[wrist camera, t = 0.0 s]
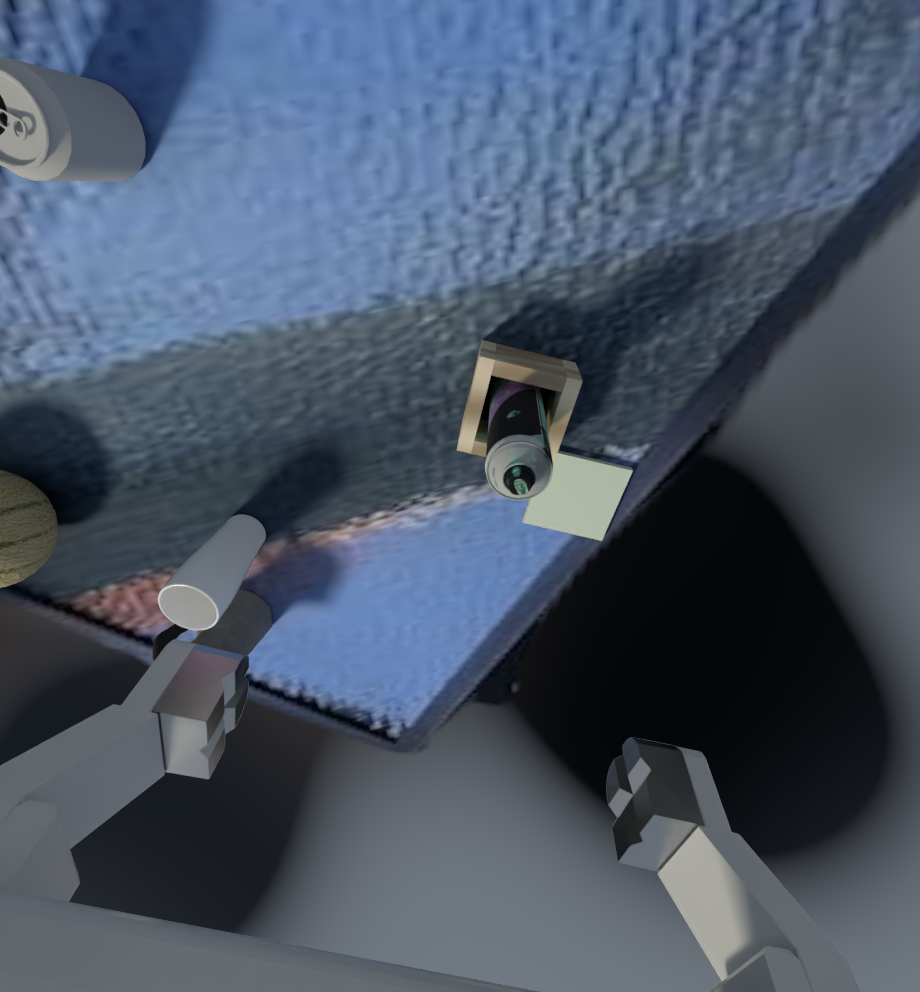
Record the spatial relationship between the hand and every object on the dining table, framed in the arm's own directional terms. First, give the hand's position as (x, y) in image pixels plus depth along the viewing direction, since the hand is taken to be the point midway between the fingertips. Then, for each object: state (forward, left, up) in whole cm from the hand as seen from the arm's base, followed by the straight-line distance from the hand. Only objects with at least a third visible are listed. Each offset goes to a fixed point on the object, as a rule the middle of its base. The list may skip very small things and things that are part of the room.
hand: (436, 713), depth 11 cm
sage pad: (+19, +15, -48) cm, 54 cm away
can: (-6, -37, -48) cm, 61 cm away
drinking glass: (+35, -24, -48) cm, 64 cm away
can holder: (+9, +5, -48) cm, 49 cm away
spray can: (+9, +5, -48) cm, 49 cm away
